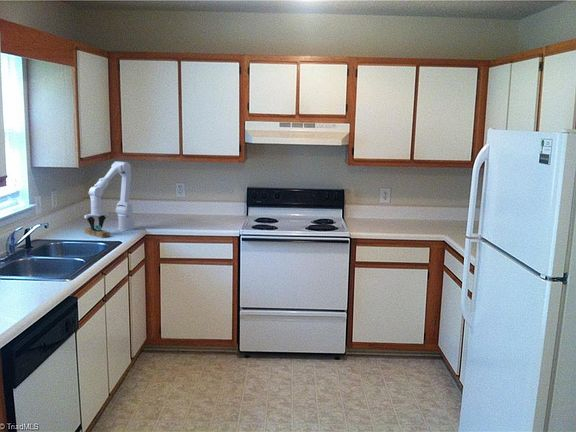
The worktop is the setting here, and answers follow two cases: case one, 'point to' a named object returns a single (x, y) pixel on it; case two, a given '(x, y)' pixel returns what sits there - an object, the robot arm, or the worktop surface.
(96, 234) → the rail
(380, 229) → the worktop surface
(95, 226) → the clip
